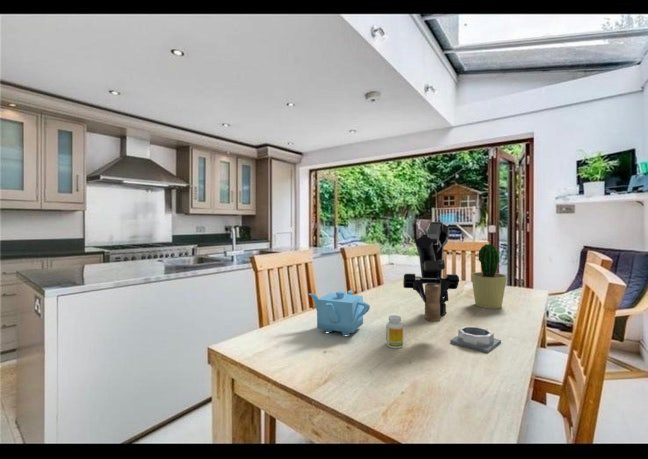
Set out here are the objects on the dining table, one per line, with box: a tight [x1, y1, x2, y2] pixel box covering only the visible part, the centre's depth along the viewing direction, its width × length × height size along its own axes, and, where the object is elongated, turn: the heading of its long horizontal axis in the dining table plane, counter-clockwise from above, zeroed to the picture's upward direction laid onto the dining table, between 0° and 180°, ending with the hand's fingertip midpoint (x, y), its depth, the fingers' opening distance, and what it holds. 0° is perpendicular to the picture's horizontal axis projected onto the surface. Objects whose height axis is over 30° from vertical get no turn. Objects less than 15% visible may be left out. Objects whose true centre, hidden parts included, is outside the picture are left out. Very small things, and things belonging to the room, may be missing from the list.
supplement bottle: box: [385, 315, 404, 349], centre depth 111 cm, size 5×5×10 cm
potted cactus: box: [470, 243, 508, 310], centre depth 160 cm, size 15×15×30 cm
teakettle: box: [308, 289, 371, 335], centre depth 127 cm, size 19×19×15 cm
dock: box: [449, 325, 502, 354], centre depth 113 cm, size 12×12×4 cm
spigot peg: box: [424, 284, 441, 323], centre depth 116 cm, size 5×5×12 cm
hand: (433, 301), depth 115 cm, fingers closed on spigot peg, 5 cm apart
